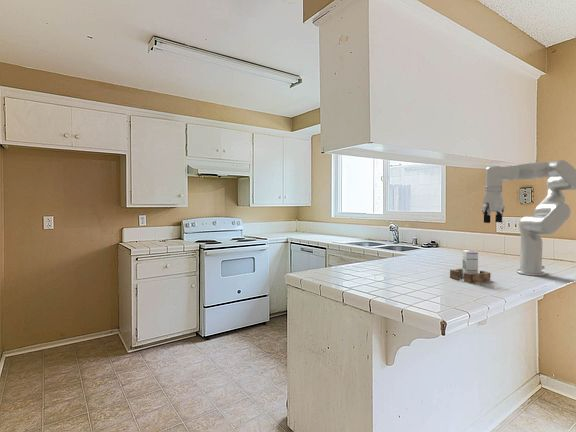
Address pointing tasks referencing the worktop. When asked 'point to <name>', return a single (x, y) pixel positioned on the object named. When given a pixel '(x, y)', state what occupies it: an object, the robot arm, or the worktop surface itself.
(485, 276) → the brown joined bars
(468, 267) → the syrup box
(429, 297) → the worktop surface
